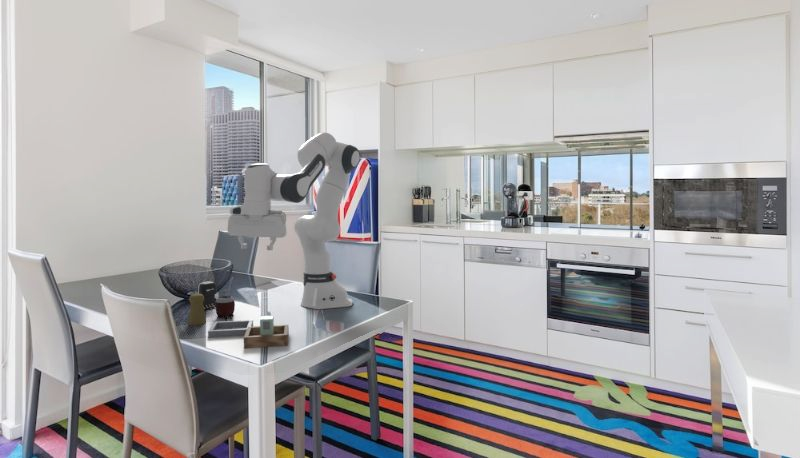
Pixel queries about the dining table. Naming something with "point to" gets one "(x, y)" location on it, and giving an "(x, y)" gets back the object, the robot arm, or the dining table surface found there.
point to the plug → (267, 325)
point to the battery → (208, 294)
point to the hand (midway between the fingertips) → (256, 249)
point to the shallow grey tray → (229, 332)
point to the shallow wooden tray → (266, 337)
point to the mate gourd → (225, 305)
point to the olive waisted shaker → (196, 310)
